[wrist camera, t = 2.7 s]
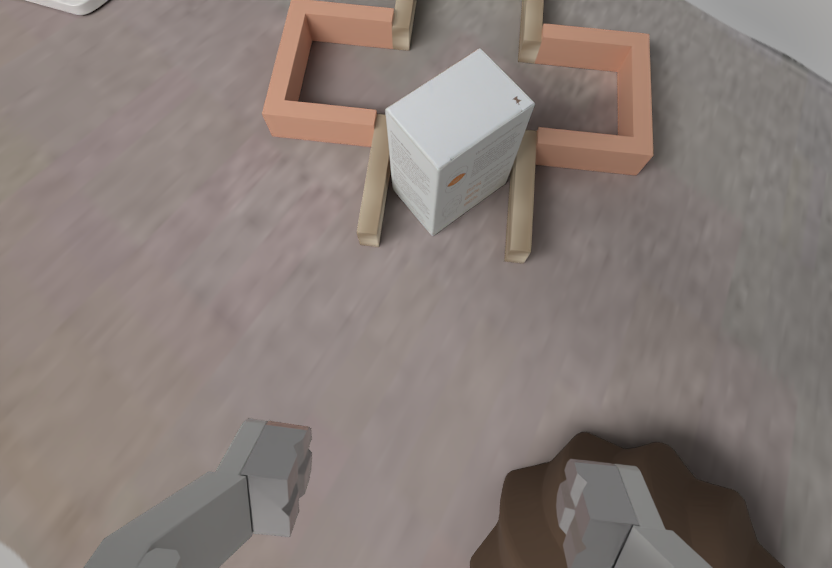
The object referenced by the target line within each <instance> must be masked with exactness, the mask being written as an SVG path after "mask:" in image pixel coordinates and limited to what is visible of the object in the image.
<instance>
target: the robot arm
mask: <svg viewBox="0 0 832 568" xmlns="http://www.w3.org/2000/svg"><path fill="white" fill-rule="evenodd" d="M26 1H29V2H33V3H36V4H40V5H44V6H47V7H51V8H55V9H58V10H62V11H65V12H69V13H73V14H76V15H85V14H88V13H90V12H92V11H94V10H95V9H97V8H98V7H100V6H101V5H102V4H104V3H105V2H106V1H108V0H26ZM311 440H312V433H311V428H310V427H307V426H301V425H294V424H287V423H281V422H274V421H264V420H258V419H251V418H248V419H247V420H245V421H244V422H243V423H242V425H241V427H240V429H239V431H238V432H237V434H236V436H235V438H234V439H233V441H232V443H231V445H230V446H229V448H228V450H227V452H226V454H225V455H224V457H223V459H222V461H221V462H220V464H219V466H218V468H217V469H216V471H215V472H207V473H205V474H204V475H202V476H201V477H199V478H198V479H196V480H195V481H193V482H191V483H190V484H188V485H187V486H185V487H184V488H182V489H181V490H179V491H177V492H176V493H174V494H173V495H171V496H170V497H168V498H167V499H165V500H163V501H162V502H160V503H159V504H157V505H156V506H154V507H153V508H151V509H149V510H148V511H146V512H145V513H143V514H142V515H140V516H138V517H137V518H135V519H134V520H132V521H131V522H129V523H128V524H126V525H124V526H123V527H121V528H120V529H118V530H117V531H115V532H114V533H112V534H110V535H109V536H107V537H106V538H104V540H103V541H102V542H101V544H100V545H99V547H98V548H97V549H96V551H95V552H94V554H93V555H92V556H91V558H90V559H89V561H88V562H87V563H86V565H85V566H84V568H219V567H220V566H221V565H222V564H223V563H224V562H225V561H226V560H227V559H228V558H229V557H230V556H231V555H233V554H234V553H235V552H236V551H237V550H238V549H239V548H240V547H241V546H242V545H243V544H244V543H245V542H246V541H247V540H248V539H249V538H250V537H251V536H252V533H254V534H264V535H274V536H284V537H290V536H291V533H292V530H293V527H294V524H295V521H296V518H297V516H298V513H299V498H300V497H301V496H303V495H304V494H305V492H306V489H307V486H308V482H309V478H310V473H311V466H312V452H311V451H310V450H309V449H308V448H309V445H310V442H311ZM564 471H565V475H566V480H565V481H564V482H562V483H561V484H560V486H559V489H558V493H557V503H556V510H557V518H558V524H559V527H560V528H561V529H562V530H563V532H564V533H565V534H566V537H565V540H564V543H563V548H564V553H565V557H566V562H567V567H568V568H712V567H711V566H710V565H709V564H708V563H707V562H706V561H705V560H704V559H703V558H702V557H700V556H699V555H698V554H697V553H696V552H695V551H694V550H693V549H692V548H691V547H690V546H689V545H687V544H686V543H685V542H684V541H683V540H682V539H681V538H680V537H679V536H678V535H677V534H676V533H674V532H673V531H671V530H666V529H665V527H664V525H663V522H662V520H661V518H660V515H659V513H658V511H657V509H656V506H655V504H654V502H653V499H652V497H651V495H650V492H649V490H648V488H647V485H646V483H645V481H644V478H643V476H642V474H641V471H640V470H639V469H638V468H637V467H636V466H629V465H621V464H611V463H603V462H594V461H585V460H577V459H570V460H569V461H568V462H567V464H566V467H565V470H564Z"/></svg>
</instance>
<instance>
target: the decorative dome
mask: <svg viewBox="0 0 832 568" xmlns="http://www.w3.org/2000/svg"><path fill="white" fill-rule="evenodd" d="M570 459H577V460H585V461H594V462H603V463H611V464H621V465H629V466H636V467H637V468H638V469H639V470H640V471H641V474H642V476H643V478H644V481H645V483H646V485H647V488H648V490H649V492H650V495H651V497H652V499H653V502H654V504H655V506H656V509H657V511H658V513H659V515H660V518H661V520H662V522H663V525H664V527H665V529H666V530H671V531H673V532H674V533H676V534H677V535H678V536H679V537H680V538H681V539H682V540H683V541H684V542H685V543H686V544H687V545H689V546H690V547H691V548H692V549H693V550H694V551H695V552H696V553H697V554H698V555H699V556H700V557H702V558H703V559H704V560H705V561H706V562H707V563H708V564H709V565H710V566H711V567H712V568H785V567H784V566H783V565H782V564H780V563H779V562H778V561H777V560H776V559H775V558H774V557H773V556H772V555H771V554H770V553H769V552H767V551H766V550H765V549H764V548H763V547H762V546H761V545H760V544H759V542H758V541H757V538H756V535H755V532H754V529H753V526H752V523H751V520H750V517H749V513H748V510H747V506H746V503H745V501H744V499H743V498H742V496H741V495H740V494H739V493H738V492H736V491H735V490H732V489H729V488H725V487H721V486H717V485H714V484H711V483H707V482H704V481H701V480H698V479H696V478H695V477H694V476H693V475H692V473H691V472H690V471H689V470H688V469H687V467H686V466H685V465H684V463H683V462H682V461H681V459H680V458H679V456H678V455H677V454H676V452H675V451H674V450H673V449H672V448H671V447H670V446H668V445H666V444H664V443H660V442H654V443H650V444H647V445H643V446H640V447H636V448H630V449H624V448H621V447H619V446H617V445H615V444H612V443H610V442H608V441H606V440H604V439H601V438H599V437H597V436H595V435H592V434H590V433H587V432H582V433H579V434H577V435H576V436H575V437H574V438H573V439H572V440H571V441H570V442H569V443H568V444H567V445H566V446H565V447H564V448H563V449H562V451H561V452H560V453H559V454H558V455H557V456H556V457H555V458H554V459H553V460H552V461H550V462H548V463H543V464H539V465H535V466H530V467H526V468H521V469H517V470H513V471H511V472H509V473H508V474H507V476H506V478H505V481H504V484H503V488H502V494H501V500H500V514H499V520H498V523H497V524H496V526H495V527H494V528H493V530H492V531H491V532H490V534H489V535H488V536H487V538H486V539H485V540H484V541H483V543H482V544H481V545H480V547H479V548H478V549H477V551H476V552H475V553H474V554H473V556H472V557H471V560H470V568H568V567H567V562H566V557H565V553H564V548H563V543H564V540H565V537H566V534H565V533H564V532H563V530H562V529H561V528H560V527H559V524H558V518H557V510H556V503H557V493H558V489H559V486H560V484H561V483H562V482H564V481H565V480H566V475H565V471H564V470H565V467H566V464H567V462H568V461H569V460H570Z"/></svg>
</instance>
